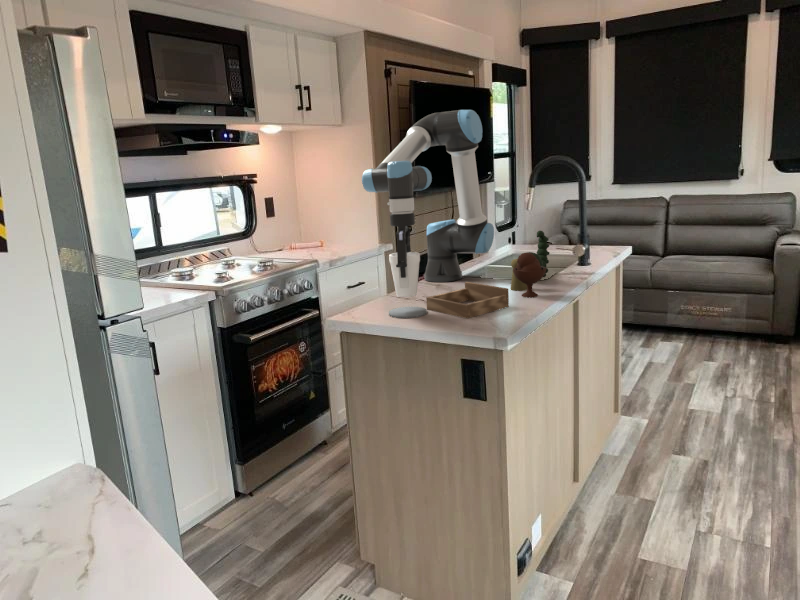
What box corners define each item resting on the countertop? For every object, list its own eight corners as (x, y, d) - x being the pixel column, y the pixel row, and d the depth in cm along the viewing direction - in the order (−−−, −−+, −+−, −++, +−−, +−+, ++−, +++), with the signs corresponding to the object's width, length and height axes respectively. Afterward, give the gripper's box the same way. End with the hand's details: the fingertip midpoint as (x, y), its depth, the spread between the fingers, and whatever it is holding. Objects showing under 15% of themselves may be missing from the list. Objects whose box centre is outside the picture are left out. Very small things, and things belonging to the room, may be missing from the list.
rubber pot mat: (410, 307, 204) (410, 304, 204) (434, 312, 195) (434, 310, 195) (381, 314, 197) (381, 311, 197) (404, 320, 188) (404, 317, 188)
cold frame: (467, 299, 211) (467, 281, 209) (508, 306, 196) (508, 288, 195) (426, 309, 200) (426, 291, 198) (467, 318, 185) (466, 298, 184)
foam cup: (427, 294, 193) (425, 253, 190) (403, 299, 188) (400, 257, 185) (409, 290, 201) (407, 251, 198) (386, 295, 196) (383, 254, 193)
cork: (507, 289, 223) (506, 258, 221) (521, 286, 225) (520, 257, 223) (516, 291, 218) (516, 260, 215) (531, 289, 220) (530, 258, 217)
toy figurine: (532, 277, 251) (510, 283, 229) (533, 230, 248) (510, 232, 227) (555, 278, 246) (534, 284, 224) (556, 230, 243) (535, 232, 222)
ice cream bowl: (547, 299, 204) (546, 254, 201) (512, 299, 206) (511, 254, 203) (546, 292, 214) (546, 249, 211) (513, 292, 216) (512, 250, 213)
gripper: (394, 210, 200) (398, 278, 205) (384, 216, 179) (389, 292, 184) (417, 209, 199) (420, 277, 204) (410, 215, 178) (414, 291, 183)
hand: (406, 284), depth 194 cm, fingers closed on foam cup, 9 cm apart
